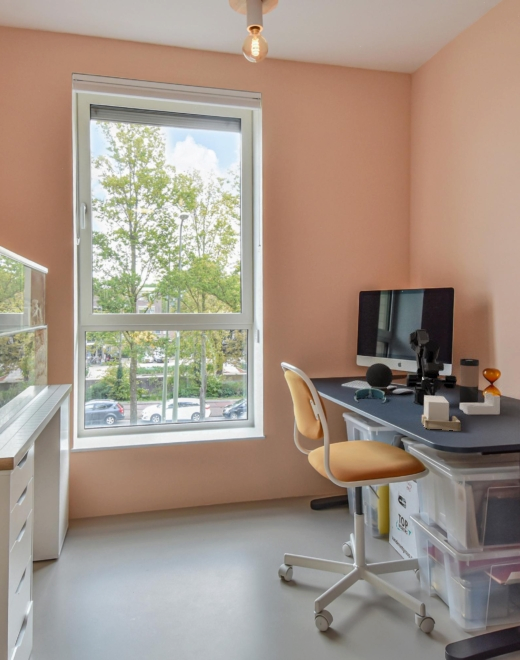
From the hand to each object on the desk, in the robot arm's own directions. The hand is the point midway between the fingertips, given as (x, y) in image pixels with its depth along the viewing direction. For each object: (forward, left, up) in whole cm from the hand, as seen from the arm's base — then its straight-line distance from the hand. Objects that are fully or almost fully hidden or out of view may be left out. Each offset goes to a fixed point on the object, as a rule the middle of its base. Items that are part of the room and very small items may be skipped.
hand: (432, 398), depth 184 cm
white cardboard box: (+3, +7, -7) cm, 10 cm away
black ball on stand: (-1, -52, -7) cm, 52 cm away
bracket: (-22, -3, -7) cm, 23 cm away
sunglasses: (+11, -34, -7) cm, 37 cm away
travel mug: (-27, -17, -7) cm, 32 cm away
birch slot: (+7, +16, -7) cm, 19 cm away
